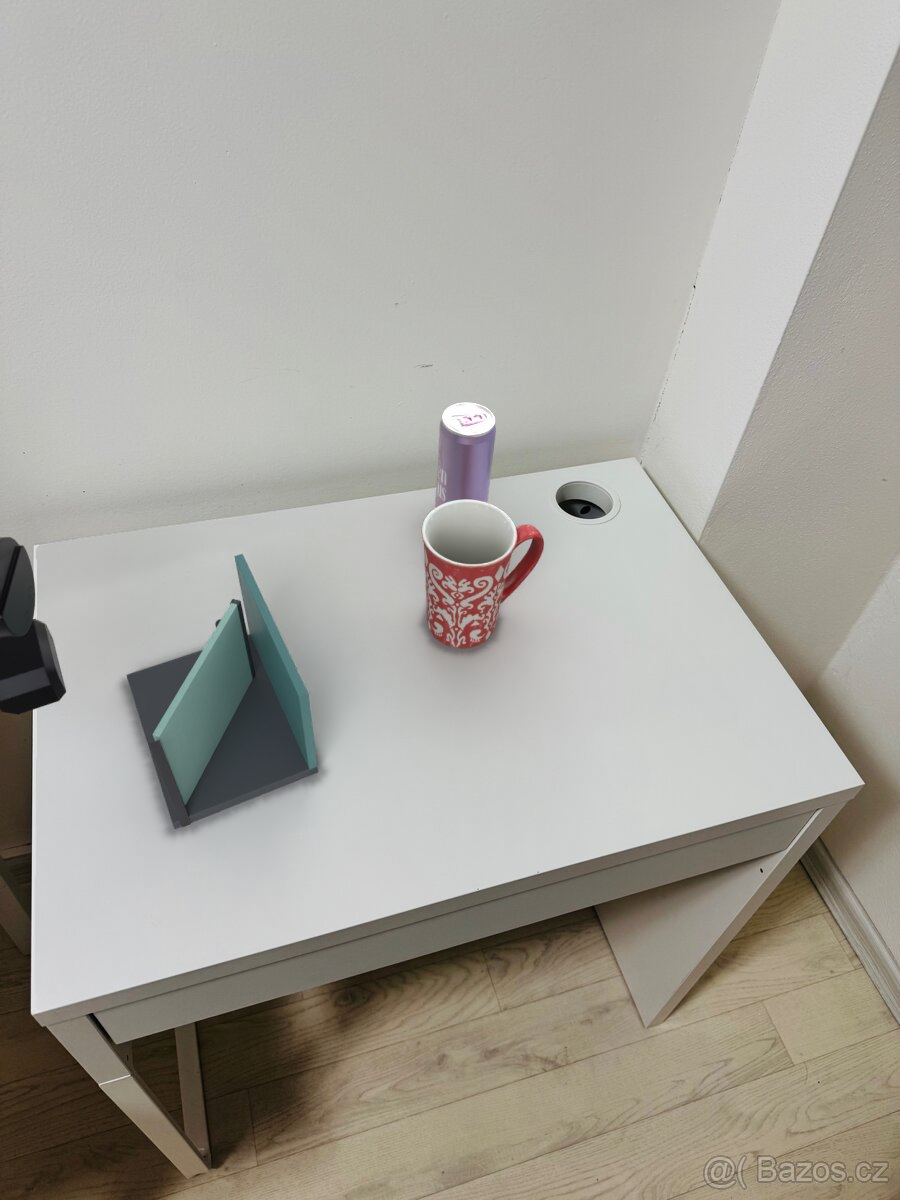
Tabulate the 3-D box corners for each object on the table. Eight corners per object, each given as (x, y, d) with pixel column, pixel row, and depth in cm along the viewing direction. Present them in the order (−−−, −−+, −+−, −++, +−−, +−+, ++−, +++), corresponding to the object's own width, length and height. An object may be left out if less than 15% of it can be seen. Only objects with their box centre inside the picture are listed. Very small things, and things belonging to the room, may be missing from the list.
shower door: (161, 798, 72) (132, 729, 64) (233, 669, 81) (215, 594, 73) (186, 805, 72) (160, 736, 63) (256, 675, 81) (241, 600, 73)
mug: (433, 665, 85) (440, 574, 74) (406, 601, 90) (409, 508, 80) (547, 637, 88) (568, 546, 78) (514, 576, 93) (530, 484, 83)
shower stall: (175, 830, 71) (142, 754, 62) (129, 682, 81) (95, 596, 72) (318, 773, 76) (308, 694, 66) (258, 638, 86) (242, 553, 76)
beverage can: (492, 533, 98) (506, 429, 86) (445, 545, 96) (452, 440, 85) (473, 501, 101) (483, 396, 90) (427, 511, 100) (431, 406, 88)
